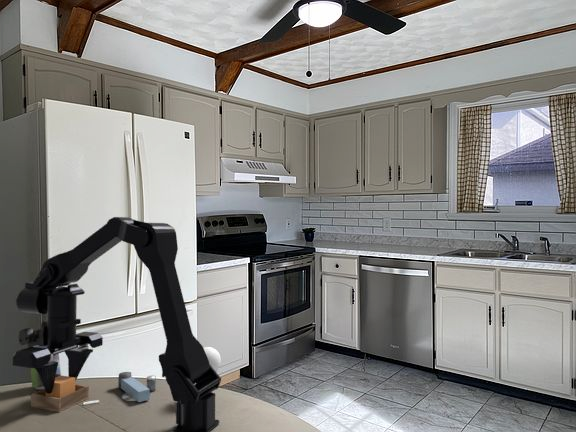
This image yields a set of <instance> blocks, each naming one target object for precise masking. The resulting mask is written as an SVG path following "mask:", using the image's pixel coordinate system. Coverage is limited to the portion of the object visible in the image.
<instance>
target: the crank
mask: <svg viewBox="0 0 576 432" xmlns="http://www.w3.org/2000/svg"><path fill="white" fill-rule="evenodd" d="M117 378H118V381H117V384H118V385H117V386H118V388H119V389H121V390H123V391H124V392H125V393H128V394H129V397H132V398H134V399H135V400H137V401H136V402H138V403H142V402H145V401H149V400H150V398H151V392H150V389H149V388H147V385H144V384H142V383H141V382H140V381H138V380H137V379H135V378H134V377H132V372H131V371H122V372H119V373H118V377H117Z"/></svg>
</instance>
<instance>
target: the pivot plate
mask: <svg viewBox="0 0 576 432" xmlns="http://www.w3.org/2000/svg"><path fill="white" fill-rule="evenodd" d="M121 399H122V400H123V401H126V402H138V401H137V400H135V399H134V398H132V397H129V394H128V393H126V392H125V393H124V394H123V395H122V396H121Z"/></svg>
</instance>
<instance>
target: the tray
mask: <svg viewBox="0 0 576 432" xmlns="http://www.w3.org/2000/svg"><path fill="white" fill-rule="evenodd" d="M89 387H90V386H88V385H82V384H76V383H75V392H73V393H70V394H68V395H66V396H64V397H61V398H55V397H49V396H46V391H45V389H40V390H39V391H37V392H36V391H35V392H34V393H31V394H30V407H31V408H35V409H41V410H46V411H51V412H58V413H60V412H62V411H65V410H67V409H69V408H71V407H73V406H76V405H78V404H79V403H81V402H83V401H86V400H88V399H89V396H90V395H89V391H90V390H89V389H90V388H89Z"/></svg>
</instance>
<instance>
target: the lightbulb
mask: <svg viewBox="0 0 576 432" xmlns="http://www.w3.org/2000/svg"><path fill="white" fill-rule="evenodd" d="M203 348H204V351H205V353H206V355H207V358H208V360H209V364H210V365H211V366H212V368H213V369H214V370H215V371H216V373H217V372H218V370H219V369H220V366H221V363H222V360H221V359H222V357H221V355H220V353H219V351H218V350H217V349H215V348H214V347H211V346H205V347H204V346H203Z"/></svg>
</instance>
